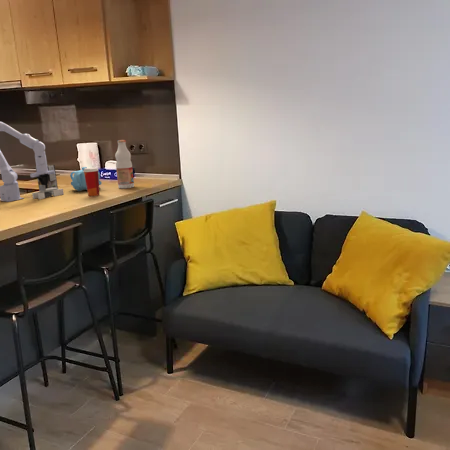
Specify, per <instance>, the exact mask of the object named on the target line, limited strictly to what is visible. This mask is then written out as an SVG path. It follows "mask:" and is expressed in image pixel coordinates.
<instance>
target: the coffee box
mask: <svg viewBox="0 0 450 450" xmlns="http://www.w3.org/2000/svg"><path fill="white" fill-rule="evenodd" d="M47 167H48V171H50V170H55V174H49V175H50V178H49V180H48V185H47V188H46V189H48V188H59V186H58V181H57V180H58V179H57V174H56V173H57V172H56V166H55V164H47ZM36 172H37V167H36V166H35V173H36ZM41 175H43V174H41ZM36 178H37V177H36ZM37 184H38V185H37V186H38V187H39V185H42V184H41V183H40V181H39V179H38V178H37ZM38 192H40V191H39V190H38Z"/></svg>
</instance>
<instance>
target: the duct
mask: <svg viewBox="0 0 450 450" xmlns="http://www.w3.org/2000/svg"><path fill="white" fill-rule="evenodd" d="M46 192H51V195H52V196H53V197H57V196H62V195H64V194H65V193H64V188H59V189H56V190H51V191H46ZM44 193H45V192H43V191H40V192H39V191H35V192H32V193H31V196H32V200H34V199H38V200H42V199H46V198H45V195H44Z"/></svg>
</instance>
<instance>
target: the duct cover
mask: <svg viewBox="0 0 450 450" xmlns="http://www.w3.org/2000/svg"><path fill="white" fill-rule="evenodd" d="M56 189H60V188H59V187H58V188H48V189H46V188H45V185H39V186H38V192H39V191H43V192H46V191H51V190H56Z"/></svg>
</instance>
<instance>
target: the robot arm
mask: <svg viewBox="0 0 450 450" xmlns="http://www.w3.org/2000/svg"><path fill="white" fill-rule="evenodd" d="M0 132H5V133H7V134H9V135H10V136H12V137H15V138H16V139H18V141H19V143H20V144H22V145H24V146H26V147H27V148H29V149H32V150H33V152H34V159H35V165H36V166H35V168H36V167H37V172H36V171H35V172H31V173H29V175H30V178H38V179H39V181H40V183H41V184H42V185H45V188H47V185H48V180H49V178H50V175H49V174H55V172H56V169H55V170H50V171H48V167H47V165H48V160H47V155H46V145H45V143H43V142H42V141H39V139H36V138H34V137H32V136H31V135H30V134H29V133H21V132H20V131H18V130H16V129H15V128H13V127H11V126H10V125H8V124H7V123H5V122H3V121H0ZM41 174H43V175H41ZM0 176H1V180H2V182H3V185H0V201H1V202H6V203H9V202H13V201H18V200H23V199H24V197H21V194H20V187H19V182H18V176H19V175H18V173H17V172H15V170H13V168H12V167H11V165H10V164H9V163H8V161H7V159H6V157H5V156H4V154H3V152H2V151H1V149H0ZM38 179H37V180H38Z"/></svg>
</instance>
